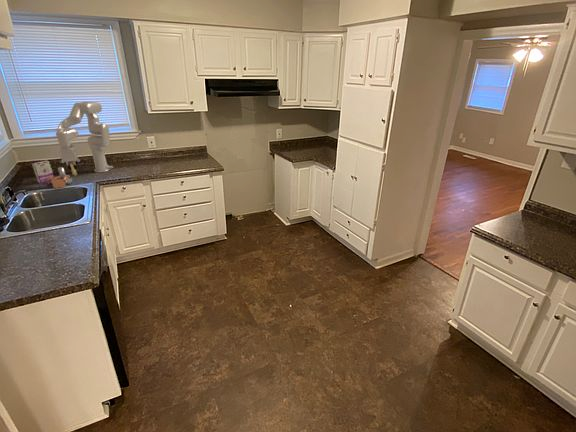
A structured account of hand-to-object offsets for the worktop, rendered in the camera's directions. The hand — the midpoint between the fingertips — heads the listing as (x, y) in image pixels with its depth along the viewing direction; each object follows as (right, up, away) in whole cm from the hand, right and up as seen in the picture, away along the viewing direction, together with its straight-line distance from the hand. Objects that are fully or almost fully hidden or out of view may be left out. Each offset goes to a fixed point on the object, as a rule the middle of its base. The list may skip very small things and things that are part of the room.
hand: (73, 169), depth 251 cm
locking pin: (0, -4, +2) cm, 5 cm away
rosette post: (-11, -11, +3) cm, 16 cm away
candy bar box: (-27, -9, +8) cm, 30 cm away
